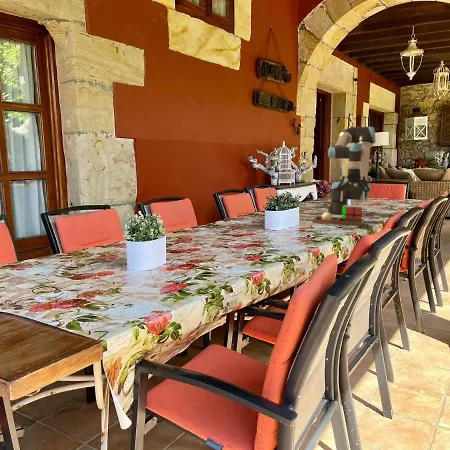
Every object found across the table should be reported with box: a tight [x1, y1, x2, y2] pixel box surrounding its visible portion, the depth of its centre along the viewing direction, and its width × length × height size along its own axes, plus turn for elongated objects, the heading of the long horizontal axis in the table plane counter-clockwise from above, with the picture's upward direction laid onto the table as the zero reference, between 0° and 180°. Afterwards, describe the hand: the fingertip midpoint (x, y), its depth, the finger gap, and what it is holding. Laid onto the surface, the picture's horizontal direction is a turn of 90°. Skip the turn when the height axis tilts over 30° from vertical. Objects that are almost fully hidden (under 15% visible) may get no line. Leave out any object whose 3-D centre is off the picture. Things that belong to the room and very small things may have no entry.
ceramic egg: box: [321, 211, 333, 220], centre depth 266 cm, size 6×6×6 cm
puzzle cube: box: [341, 204, 363, 219], centre depth 275 cm, size 10×10×10 cm
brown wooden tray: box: [312, 215, 365, 229], centre depth 264 cm, size 15×29×3 cm, turn 68°
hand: (352, 201), depth 273 cm, fingers open, 13 cm apart
